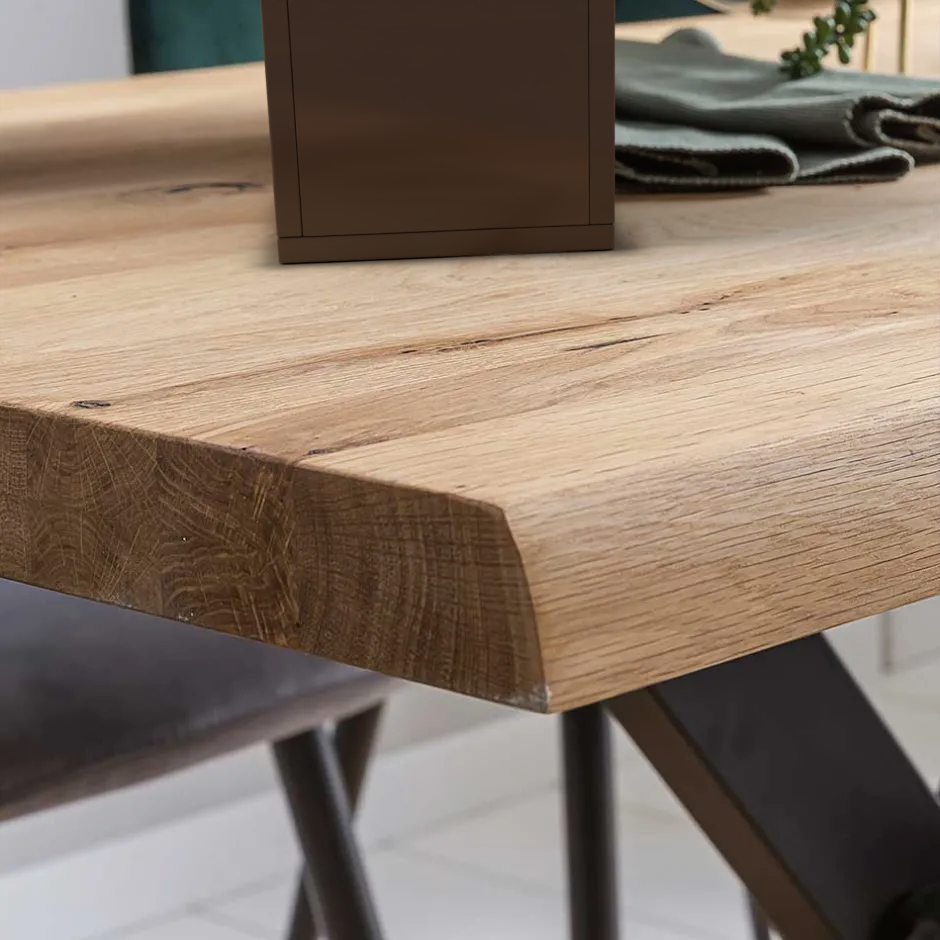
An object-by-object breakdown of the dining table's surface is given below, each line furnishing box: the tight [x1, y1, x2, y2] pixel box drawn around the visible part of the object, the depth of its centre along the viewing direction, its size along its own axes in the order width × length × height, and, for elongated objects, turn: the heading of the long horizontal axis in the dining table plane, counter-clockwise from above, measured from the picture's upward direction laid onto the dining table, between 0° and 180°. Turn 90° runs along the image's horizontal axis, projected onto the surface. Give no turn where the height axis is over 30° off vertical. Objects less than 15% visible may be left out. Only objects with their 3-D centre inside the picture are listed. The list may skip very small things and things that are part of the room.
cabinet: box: [259, 0, 616, 264], centre depth 60 cm, size 14×12×10 cm
